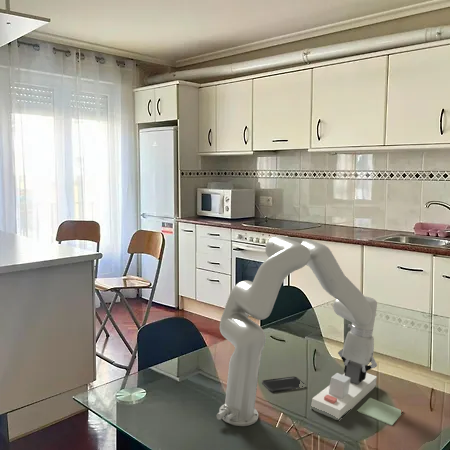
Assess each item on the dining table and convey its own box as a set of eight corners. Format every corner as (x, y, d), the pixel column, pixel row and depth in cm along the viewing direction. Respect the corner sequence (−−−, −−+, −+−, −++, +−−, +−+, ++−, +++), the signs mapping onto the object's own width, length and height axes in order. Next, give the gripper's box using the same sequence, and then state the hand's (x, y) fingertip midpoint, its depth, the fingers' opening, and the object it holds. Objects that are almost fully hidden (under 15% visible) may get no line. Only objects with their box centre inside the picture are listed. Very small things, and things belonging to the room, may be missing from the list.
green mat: (391, 425, 164) (392, 424, 164) (357, 411, 171) (357, 410, 171) (403, 412, 174) (403, 410, 174) (369, 398, 181) (370, 397, 181)
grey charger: (341, 403, 170) (344, 382, 169) (327, 398, 173) (330, 377, 172) (347, 398, 174) (350, 377, 173) (334, 393, 177) (337, 372, 176)
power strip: (338, 421, 163) (340, 407, 162) (310, 409, 169) (312, 395, 168) (375, 386, 191) (377, 374, 190) (350, 376, 196) (352, 365, 195)
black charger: (356, 389, 181) (360, 369, 180) (343, 384, 184) (347, 364, 183) (362, 384, 185) (365, 365, 184) (349, 379, 188) (352, 360, 187)
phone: (261, 380, 184) (295, 376, 191) (260, 383, 184) (295, 378, 191) (271, 391, 177) (307, 386, 184) (271, 394, 177) (306, 389, 184)
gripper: (335, 326, 183) (328, 372, 186) (381, 341, 173) (372, 390, 177) (343, 321, 189) (336, 366, 192) (388, 335, 179) (380, 383, 183)
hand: (354, 377), depth 184 cm, fingers closed on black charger, 5 cm apart
